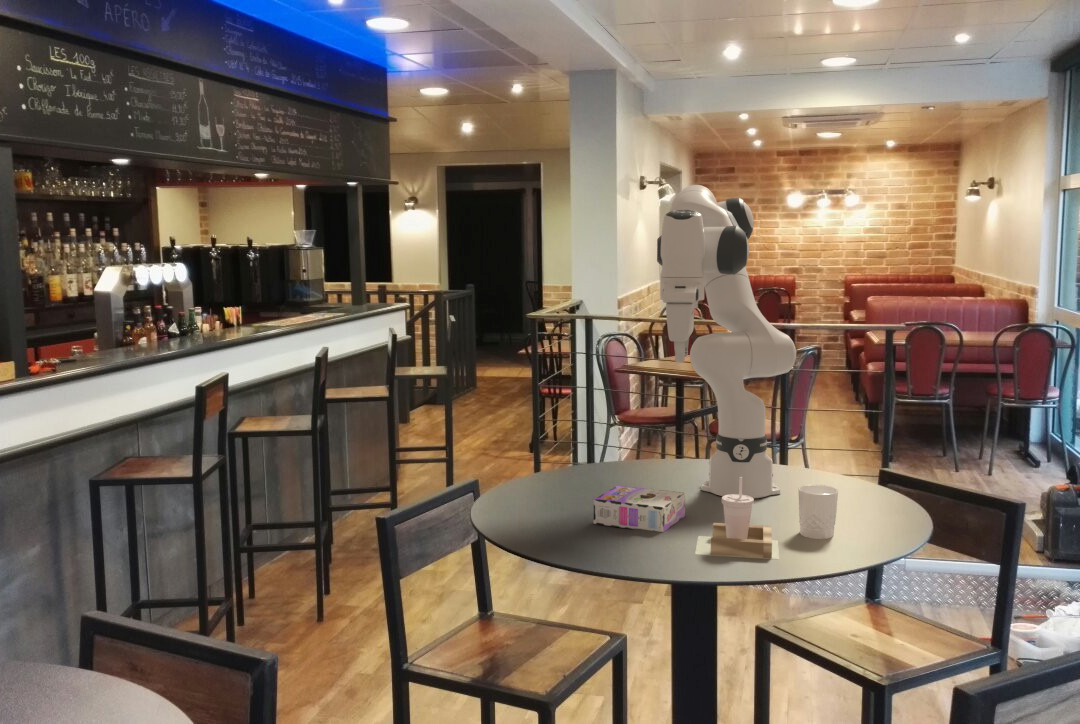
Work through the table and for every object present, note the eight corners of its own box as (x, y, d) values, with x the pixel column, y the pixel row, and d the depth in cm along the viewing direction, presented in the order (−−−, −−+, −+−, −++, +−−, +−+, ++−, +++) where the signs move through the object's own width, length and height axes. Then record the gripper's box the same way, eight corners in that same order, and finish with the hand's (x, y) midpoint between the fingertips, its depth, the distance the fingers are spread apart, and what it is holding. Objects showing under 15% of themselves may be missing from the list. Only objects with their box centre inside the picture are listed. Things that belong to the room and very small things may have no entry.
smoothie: (747, 552, 196) (748, 482, 194) (716, 547, 199) (717, 478, 197) (757, 543, 201) (758, 475, 200) (726, 538, 205) (727, 471, 203)
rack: (713, 537, 206) (713, 522, 205) (770, 540, 203) (771, 525, 203) (710, 554, 194) (710, 539, 194) (771, 558, 192) (772, 543, 192)
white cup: (806, 528, 213) (808, 482, 212) (842, 535, 208) (844, 488, 207) (790, 537, 207) (792, 490, 206) (827, 544, 202) (828, 496, 201)
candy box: (592, 525, 217) (663, 534, 209) (592, 498, 216) (664, 507, 208) (617, 509, 229) (686, 517, 221) (617, 484, 228) (686, 491, 220)
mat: (698, 538, 207) (698, 535, 207) (777, 542, 203) (777, 540, 203) (694, 556, 195) (694, 554, 195) (779, 561, 192) (779, 559, 192)
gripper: (670, 288, 213) (670, 352, 214) (662, 294, 193) (661, 365, 194) (700, 288, 211) (699, 353, 213) (695, 294, 191) (694, 366, 193)
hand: (681, 359), depth 204 cm, fingers open, 8 cm apart
